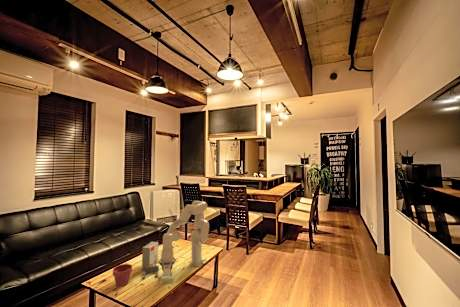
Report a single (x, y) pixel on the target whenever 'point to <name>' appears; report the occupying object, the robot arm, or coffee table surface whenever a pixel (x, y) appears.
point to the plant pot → (122, 274)
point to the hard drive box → (150, 255)
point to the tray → (167, 278)
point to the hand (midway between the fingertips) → (167, 270)
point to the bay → (151, 270)
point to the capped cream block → (167, 269)
